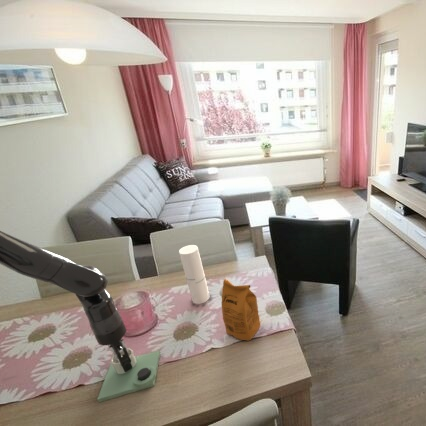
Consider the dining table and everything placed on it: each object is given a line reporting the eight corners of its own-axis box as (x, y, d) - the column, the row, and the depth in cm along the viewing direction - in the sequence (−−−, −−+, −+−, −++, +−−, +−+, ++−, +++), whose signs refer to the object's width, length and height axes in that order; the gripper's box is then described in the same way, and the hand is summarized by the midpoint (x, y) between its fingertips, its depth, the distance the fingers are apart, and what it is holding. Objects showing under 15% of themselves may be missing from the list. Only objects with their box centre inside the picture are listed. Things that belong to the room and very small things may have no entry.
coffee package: (239, 316, 117) (230, 270, 108) (264, 325, 112) (257, 278, 103) (221, 334, 109) (210, 286, 100) (248, 345, 104) (239, 296, 95)
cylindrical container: (195, 293, 131) (182, 245, 121) (211, 292, 131) (199, 244, 121) (190, 304, 124) (176, 254, 114) (207, 303, 125) (195, 253, 115)
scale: (98, 404, 86) (94, 397, 85) (111, 366, 98) (108, 359, 97) (155, 387, 91) (153, 380, 89) (162, 352, 102) (160, 346, 101)
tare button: (137, 382, 90) (136, 378, 89) (140, 373, 92) (138, 369, 92) (149, 378, 90) (147, 374, 90) (151, 370, 93) (149, 366, 93)
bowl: (113, 377, 93) (108, 366, 91) (118, 361, 98) (114, 351, 96) (134, 371, 94) (130, 360, 92) (138, 356, 100) (134, 346, 98)
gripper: (86, 320, 90) (104, 358, 97) (99, 345, 82) (118, 383, 88) (114, 307, 95) (129, 343, 102) (129, 329, 87) (144, 367, 93)
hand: (124, 362), depth 95 cm, fingers open, 8 cm apart
